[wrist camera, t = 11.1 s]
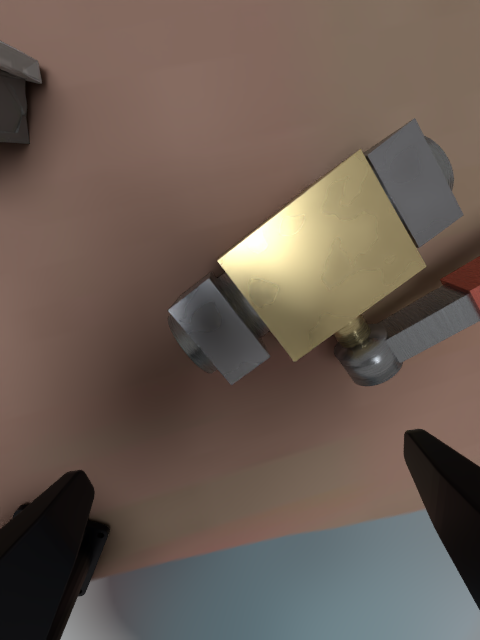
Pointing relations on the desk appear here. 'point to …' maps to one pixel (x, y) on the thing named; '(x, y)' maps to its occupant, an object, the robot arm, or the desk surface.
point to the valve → (321, 258)
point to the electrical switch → (15, 92)
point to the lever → (415, 328)
